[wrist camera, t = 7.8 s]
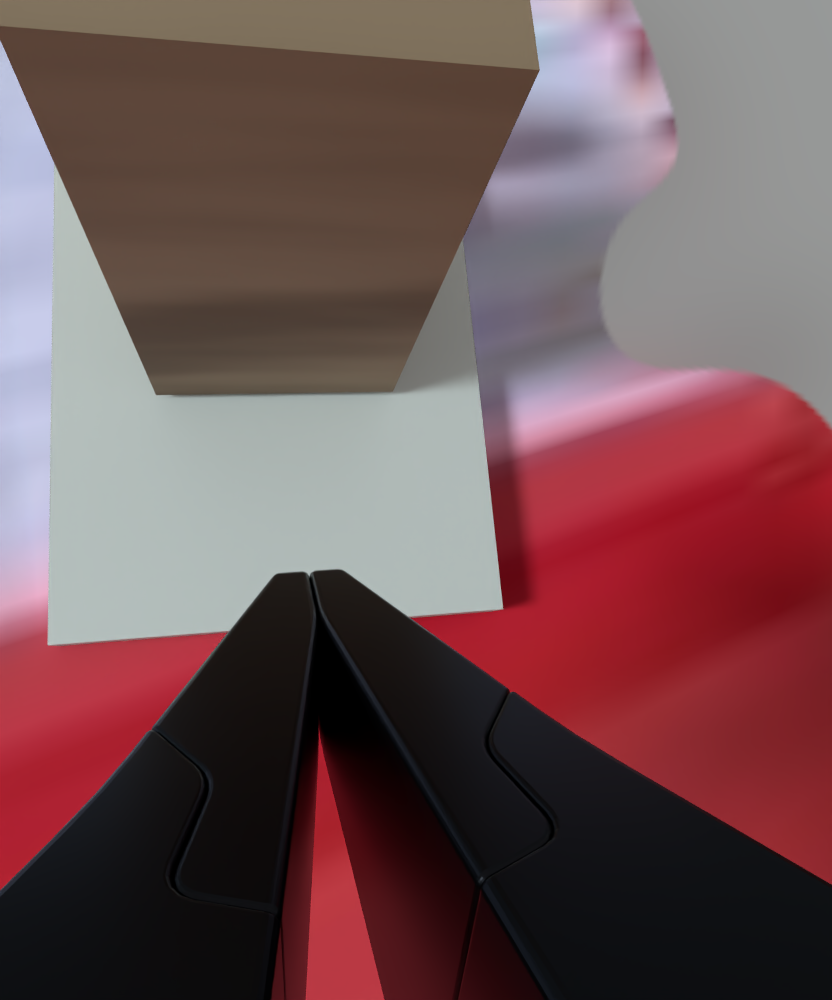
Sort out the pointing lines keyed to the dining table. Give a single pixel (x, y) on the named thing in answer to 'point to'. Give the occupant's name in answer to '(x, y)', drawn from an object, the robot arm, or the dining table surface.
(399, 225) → the brown wooden block
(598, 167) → the dining table surface
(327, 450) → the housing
